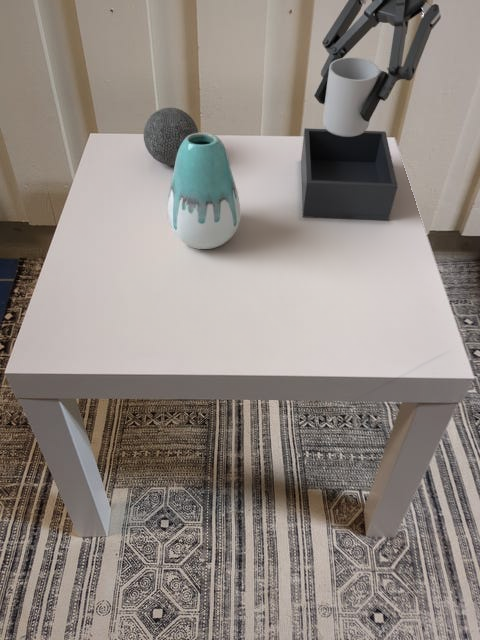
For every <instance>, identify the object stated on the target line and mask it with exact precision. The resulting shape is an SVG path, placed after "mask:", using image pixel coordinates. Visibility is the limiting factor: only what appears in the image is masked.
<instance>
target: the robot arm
mask: <svg viewBox="0 0 480 640" xmlns="http://www.w3.org/2000/svg"><path fill="white" fill-rule="evenodd" d="M367 2H368V0H348V1H347V2H346V3H345V5H344V7H343V8H342V10H341V12H340V14H338V16H337V18H336V19H335V21H334V22H333V24H332V26H331V27H330V29H329V30H328V31H327V34H326V35H325V36H324V38H323V40H322V42H321V44H322V45H323V47H324V49H325V51H326V52H327V53H328V57H326V58H327V59H326V60H325V63H324V65H323V67H322V68H321V71H320V75H321V78H322V79H321V82H320V84H318V87H317V89H316V92H315V93H314V96H313V97H314V98H315V99H316V101H317V102H318V103H319V104H322V105H324V104H325V96H326V89H327V81H328V74H329V66H330V64H331V63H332V62H333V61H335V60H337V59H341V58H345V56H346V55H348V53H349V52H350V51H351V50H352V49H353V48H354V47H355V46H356V45H357V44H358V43H359V42H360V41H361V40H362V39H363V38H364V36H366V35H367V34H368V33H369V32H370V30H371V29H373V28H376V27H377V26H378V25H379V24H380V23H383V24H389V25H391V26H392V27H394V28H393V35H392V43H391V47H390V48H391V49H390V56H389V62H388V67H386V68H387V71H385V70H381V71H382V72H381V74H380V75H379V77H378V79H377V81H376V83H375V85H374V87H373V89H372V91H371V93H370V95H369V97H368V98H367V100H366V102H365V104H364V106H363V108H362V110H361V112H360V115H361V116H362V118H363V119H364V120H365V121H367V122H369V120H370V121H371V119H372V117H373V115H374V112H375V111H376V109H377V107H378V105H379V103H380V101H383V102H385V101H386V100H387V99H388V98H389V97H390V94H391V93H392V90H393V89H394V87H395V86H396V83H397V82H398V81H401V80H406V81H408V82H409V81H411V80H412V79H413V78H414V77H415V74H416V71H417V68H418V66H419V63H420V61H421V58H422V56H423V53H424V50H425V48H426V45H427V43H428V41H429V38H430V35H431V32H432V30H433V29H434V28H435V26H436V25H437V24H438V23H439V21H440V20H441V17H442V16H441V11H440V6H439V4H437V3H435V4H431V3H429V2H428V0H371V3H370V4H369V5H368V6H367V7H366V8H365V9H364V10H363V13H362V15H361V16H360V17H359V18H358V19H357V20H356V21H355V19H356V18H357V16H358V15H359V13H360V11H361V9H362V7H363V5H366V4H367ZM420 14H421V15H420ZM418 15H420V17H421V19H420V21H419V23H418V26H417V29H416V32H415V33H414V37H413V39H412V41H411V45H410V47H409V50H408V52H407V55H406V57H405V59H404V63H403V57H404V51H405V45H406V44H405V43H406V38H407V34H408V31H409V30H408V29H409V21H410V20H413V18H415V17H416V16H418ZM354 21H355V22H354ZM369 123H370V122H369Z"/></svg>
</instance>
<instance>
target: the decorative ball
mask: <svg viewBox="0 0 480 640" xmlns="http://www.w3.org/2000/svg"><path fill="white" fill-rule="evenodd" d="M194 133H199V130H198V126H197V124H196V123H195V121H194V119H193V118H192V116H190V114H188V113H187V112H186V111H184V110H182V109H180V108H176V107H164V108H160V109H158V110H157V111H155V112H153V113H152V114H151V115H150V116H149V118H148V119H147V121H146V122H145V125H144V128H143V142H144V147H145V148H146V151H147V152H148V153H149V155H150V156H151V157H152V158H153V159H155V161H157V162H159V163H161V164H163V165H167V166H168V165H169V166H175V161H176V156H177V153H178V150H179V147H180V145H181V143H182V142H183V140H184V139H185V138H186V137H187V136H189V135H191V134H194Z"/></svg>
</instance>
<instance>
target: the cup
mask: <svg viewBox="0 0 480 640" xmlns="http://www.w3.org/2000/svg"><path fill="white" fill-rule="evenodd" d="M382 71H383V70H381V68H379V66H378V65H377V64H376V63H374V62H373V61H371V60H368V59H365V58H361V57H349V56H348V57H343V58H341V59H337V60H335V61H333V62H332V63H331V64H330V66H329V74H328V81H327V89H326V96H325V103H324V104H323V105H324V106H323V111H322V112H323V113H322V125H323V128H324V129H326V130H327V131H329V132H330V133H332V134H335V135H338V136H343V137H353V136H357V135H360V134H362V133H363V132H364V131H368V128H369V126H370V121H371V119H370V120H369V122H367V121H365V120H364V119H363V118H362V116H361V115H360V112H361V110H362V108H363V106H364V104H365V102H366V100H367V98H368V97H369V95H370V93H371V91H372V89H373V87H374V85H375V83H376V81H377V79H378V77H379V75H380V74H381V72H382Z"/></svg>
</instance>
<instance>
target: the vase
mask: <svg viewBox="0 0 480 640" xmlns="http://www.w3.org/2000/svg"><path fill="white" fill-rule="evenodd" d="M173 166H174V167H173V172H172V177H171V179H170V184H169V188H168V195H167V206H166V208H167V209H166V210H167V211H166V213H167V221H168V224H169V227H170V229H171V231H172V232H173V234H174V236H175V237H176V238H177V239H178V240H179V241H181V242H182V243H183V244H184V245H187V246H189V247H191V248H194V249H198V250H199V249H200V250H210V249H215V248H218V247H220V246H222V245H224V244H226V243H227V242H228V241H229V240H230V239H232V237H234V235H235V234H236V232H237V230H238V228H239V225H240V222H241V216H242V209H241V200H240V196H239V192H238V189H237V185H236V181H235V179H234V176H233V172H232V169H231V164H230V161H229V157H228V153H227V150H226V147H225V145H224V143H223V142H222V140H221V139H220V137H219V136H217V135H215V134H213V133H210V132H198V133H194V134H191V135H189V136H187V137H186V138H185V139H184V140H183V142H182V143H181V145H180V147H179V150H178V153H177V156H176V161H175V165H173Z"/></svg>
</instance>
